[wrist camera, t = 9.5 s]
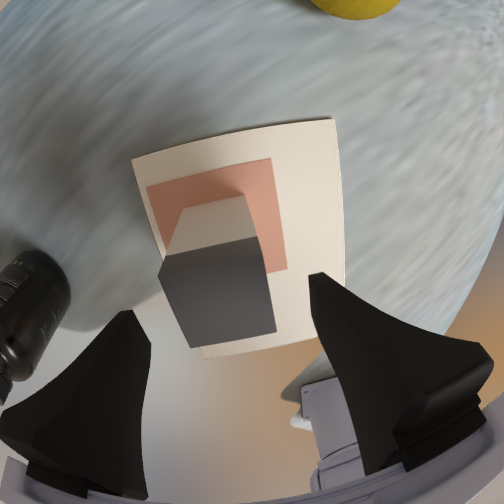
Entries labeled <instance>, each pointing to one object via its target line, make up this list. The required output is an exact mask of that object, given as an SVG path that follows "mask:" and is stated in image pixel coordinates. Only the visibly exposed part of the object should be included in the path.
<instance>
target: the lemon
mask: <svg viewBox="0 0 504 504" xmlns="http://www.w3.org/2000/svg"><path fill="white" fill-rule="evenodd" d="M311 1H312V2H313V3H314V4H315V5H316V6H317V7H319V8H320V9H322V10H323V11H324V12H327V13H329V14H331V15H333V16H336V17H339V18H342V19H349V20H365V19H372V18H375V17H378V16H380V15H383V14H385V13H387V12H389V11H390V10H391V9H393V8H394V7H395V6H396V5H397V4H398V3H399V2H400V1H401V0H311Z"/></svg>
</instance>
